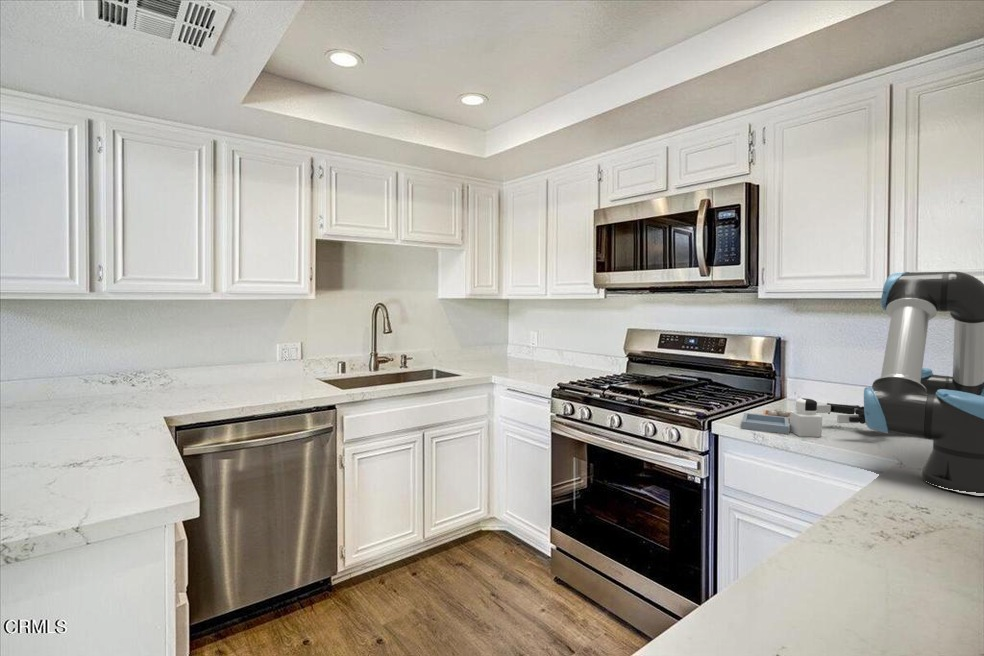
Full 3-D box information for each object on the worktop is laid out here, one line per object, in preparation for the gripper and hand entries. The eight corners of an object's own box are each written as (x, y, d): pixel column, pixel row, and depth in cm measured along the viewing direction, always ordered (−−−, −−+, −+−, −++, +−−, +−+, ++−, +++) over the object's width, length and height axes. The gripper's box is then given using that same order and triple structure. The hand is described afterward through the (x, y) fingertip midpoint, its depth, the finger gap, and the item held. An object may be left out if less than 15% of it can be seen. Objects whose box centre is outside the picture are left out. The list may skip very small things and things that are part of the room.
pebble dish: (793, 423, 184) (793, 418, 184) (762, 420, 189) (762, 415, 189) (792, 417, 193) (793, 412, 193) (763, 414, 198) (763, 409, 198)
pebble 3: (788, 420, 187) (788, 412, 186) (778, 419, 188) (779, 411, 188) (788, 418, 189) (788, 411, 189) (778, 417, 191) (779, 410, 191)
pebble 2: (782, 418, 191) (782, 410, 190) (773, 417, 192) (773, 409, 192) (782, 416, 193) (782, 408, 193) (773, 415, 195) (773, 407, 194)
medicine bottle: (810, 431, 175) (812, 397, 174) (821, 437, 168) (823, 401, 167) (788, 430, 175) (790, 396, 174) (799, 436, 168) (800, 401, 167)
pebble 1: (777, 419, 188) (777, 411, 188) (767, 418, 190) (768, 410, 190) (777, 417, 191) (777, 410, 191) (768, 416, 193) (768, 409, 192)
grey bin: (788, 434, 171) (789, 426, 171) (741, 428, 178) (741, 421, 178) (788, 424, 184) (788, 417, 183) (743, 419, 191) (744, 412, 190)
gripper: (916, 434, 159) (849, 434, 159) (859, 415, 184) (801, 415, 184) (918, 411, 159) (851, 411, 159) (860, 394, 184) (802, 395, 184)
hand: (824, 413), depth 171 cm, fingers open, 13 cm apart
